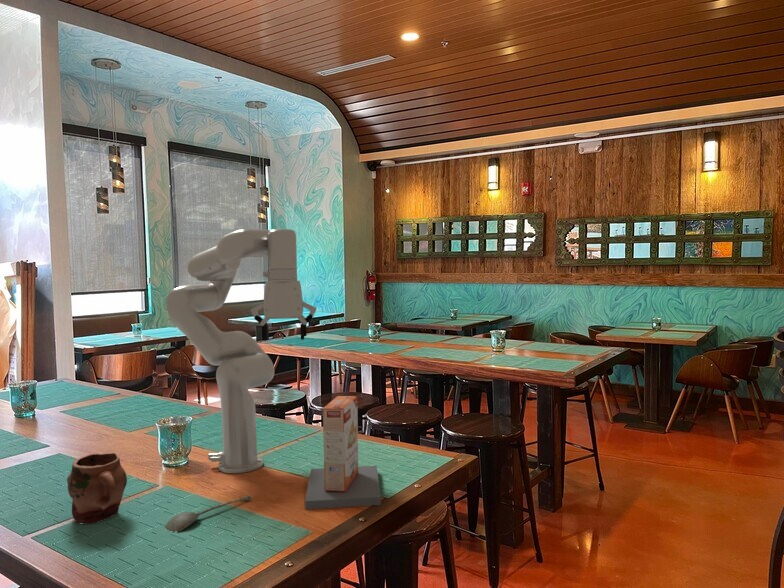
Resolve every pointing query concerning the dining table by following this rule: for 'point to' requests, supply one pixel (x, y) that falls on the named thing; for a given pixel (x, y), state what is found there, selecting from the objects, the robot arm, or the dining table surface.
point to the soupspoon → (194, 516)
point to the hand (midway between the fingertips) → (284, 339)
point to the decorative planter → (96, 487)
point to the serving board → (357, 494)
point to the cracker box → (340, 443)
